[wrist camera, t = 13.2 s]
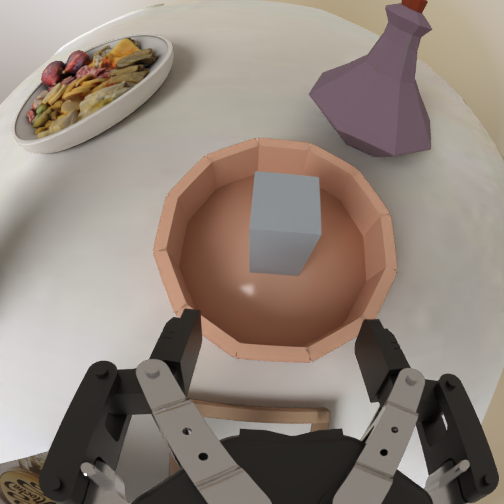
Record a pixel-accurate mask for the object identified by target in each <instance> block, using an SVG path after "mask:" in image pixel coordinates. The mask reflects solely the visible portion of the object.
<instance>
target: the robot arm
mask: <svg viewBox="0 0 504 504" xmlns="http://www.w3.org/2000/svg"><path fill="white" fill-rule="evenodd" d="M201 343H202V325H201V311H200V310H196V309H187V308H185V309H184V310H183V313H182V315H181V317H180V318H176V317H173V318H172V319H171V320H169V321H168V322H167V323H166V325H165V327H164V329H163V332H162V333H161V335H160V338H159V339H158V341H157V343H156V346H155V348H154V350H153V352H152V354H151V356H150V358H149V360H146V361H143V362H142V363H140V364H139V365H138V367H137V368H136V369H124V370H117V368H116V366H115V365H114V364H113V363H111V362H109V361H99V362H96V363H94V364H92V365H91V366H90V367H89V369H88V371H87V373H86V374H85V376H84V378H83V380H82V382H81V384H80V386H79V388H78V390H77V392H76V394H75V396H74V398H73V400H72V402H71V404H70V406H69V408H68V410H67V412H66V414H65V416H64V418H63V420H62V423H61V425H60V427H59V429H58V431H57V434H56V436H55V438H54V440H53V443H52V445H51V448H50V450H49V452H48V455H47V457H46V460H45V462H44V465H43V467H42V470H41V473H40V476H39V486H40V489H41V491H42V492H43V493H44V495H45V496H46V497H48V498H49V499H51V500H53V501H54V502H56V503H58V504H131V503H129V502H128V500H127V499H126V496H125V485H124V482H123V480H122V479H121V477H120V476H119V475H118V474H117V473H116V472H115V470H116V467H117V463H118V460H119V456H120V453H121V449H122V446H123V442H124V439H125V436H126V433H127V429H128V426H129V423H130V420H131V417H132V415H135V414H151V415H152V417H153V419H154V421H155V423H156V425H157V427H158V429H159V431H160V433H161V435H162V437H163V439H164V440H165V442H166V444H167V446H168V448H169V450H170V452H171V454H172V456H173V457H174V459H175V461H176V463H177V464H178V466H179V468H180V469H179V470H178V471H177V472H175V473H174V474H172V475H171V476H170V477H168V478H167V479H165V480H164V481H162V482H161V483H159V484H158V485H156V486H155V487H153V488H152V489H150V490H149V491H147V492H146V493H144V494H142V495H141V496H139V497H138V498H137V499H135V500H134V501H133V503H132V504H473V503H475V502H477V501H478V500H480V499H482V498H483V497H485V496H487V495H488V494H490V493H491V492H493V491H494V489H495V488H496V487H497V485H498V481H499V475H498V472H497V468H496V465H495V462H494V459H493V456H492V453H491V450H490V447H489V445H488V442H487V439H486V437H485V434H484V431H483V429H482V426H481V424H480V422H479V419H478V417H477V415H476V412H475V410H474V408H473V406H472V403H471V401H470V399H469V397H468V395H467V393H466V391H465V389H464V387H463V385H462V383H461V381H460V379H459V378H458V377H456V376H455V375H453V374H444V375H442V376H441V377H440V379H439V380H438V381H434V380H426V379H425V378H424V376H423V375H422V373H421V372H419V371H418V370H416V369H413V368H410V366H409V364H408V362H407V360H406V358H405V356H404V354H403V352H402V350H401V349H400V346H399V344H398V343H397V340H396V338H395V336H394V335H393V334H392V333H391V332H390V331H389V330H388V329H384V328H383V326H382V324H381V322H380V320H379V319H365V320H364V321H363V322H362V325H361V328H360V331H359V334H358V337H357V339H356V342H355V355H356V358H357V361H358V364H359V367H360V370H361V373H362V376H363V379H364V383H365V386H366V389H367V392H368V396H369V399H370V402H371V403H372V402H379V403H380V406H379V407H378V409H377V411H376V413H375V415H374V417H373V419H372V420H371V422H370V424H369V426H368V428H367V429H366V431H365V433H364V435H363V436H362V438H361V439H360V440H358V439H356V438H353V437H350V436H345V435H343V431H342V429H330V430H317V431H313V432H309V433H305V434H301V435H297V436H288V435H284V434H279V433H275V432H271V431H267V430H250V429H240V435H237V436H231V437H227V438H224V439H222V440H218V439H217V437H216V436H215V434H214V433H213V432H212V430H211V429H210V427H209V426H208V424H207V423H206V421H205V420H204V419H203V417H202V416H201V414H200V413H199V411H198V409H197V408H196V406H195V405H194V403H193V402H192V401H191V400H190V399H187V398H186V397H187V394H188V390H189V386H190V383H191V379H192V376H193V372H194V369H195V365H196V362H197V358H198V355H199V351H200V348H201ZM443 414H444V416H445V419H446V422H447V425H448V427H447V430H446V427H445V424H444V422H443V419H442V415H443ZM415 424H416V427H417V431H418V434H419V438H420V441H421V445H422V449H423V453H424V457H425V461H426V465H427V469H428V474H429V477H428V478H427V480H426V484H425V488H424V489H423V488H422V487H420V486H419V485H417V484H416V483H415V482H413V481H412V480H411V479H409V478H408V477H407V476H405V475H404V474H403V473H401V472H400V471H399V470H397V467H398V465H399V463H400V461H401V459H402V457H403V454H404V452H405V450H406V447H407V445H408V442H409V440H410V437H411V435H412V432H413V430H414V427H415Z"/></svg>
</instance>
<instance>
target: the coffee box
mask: <svg viewBox="0 0 504 504" xmlns="http://www.w3.org/2000/svg"><path fill="white" fill-rule="evenodd" d="M47 455H48V452H44V453H40V454H37V455H33V456H30V457H26V458H22V459H18V460H14V461H10V462H6V463H2V464H0V504H58V503H56V502H54V501H53V500H51V499H49V498H48V497H46V496H45V495H44V493H43V492H42V491H41V489H40V486H39V476H40V473H41V470H42V467H43V465H44V462H45V460H46V457H47Z"/></svg>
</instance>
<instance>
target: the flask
mask: <svg viewBox="0 0 504 504" xmlns="http://www.w3.org/2000/svg"><path fill="white" fill-rule="evenodd" d="M426 4H427V1H426V0H402V3H399V4H393V5H387V6H386V8H385V9H386V12H387V17H388V21H389V22H388V24H387V26H386V29H385V31H384V33H383V34H382V36H381V37H380V38H379V40H378V41H377V42H376V44H375V45H374V47H373V48H372V49H371V51H370V52H369V53H368V55H366V56H363V57H361V58H359V59H357V60H354V61H352V62H350V63H348V64H345V65H342V66H340V67H337V68H334V69H331V70H329V71H326V72H324V73H322V75H321V76H320V78H319V79H318V81H317V82H316V84H315V85H314V87H313V88H312V90H311V92H310V93H309V95H310V97H311V98H312V99H313V101H314V102H315V103H316V104H317V106H318V107H319V108H320V110H321V111H322V112H323V114H324V115H325V116H326V118H327V119H328V120H329V122H330V123H331V125H332V126H333V127H334V129H335V130H336V131H337V132H338V134H339V135H340V137H341V138H342V139H343V141H344V142H345V143H346V144H347V145H349V146H352V147H354V148H356V149H359V150H361V151H363V152H365V153H367V154H370V155H372V156H396V155H402V154H407V153H413V152H418V151H424V150H430V149H431V133H430V120H429V117H428V114H427V111H426V109H425V106H424V104H423V101H422V99H421V96H420V93H419V90H418V86H417V83H416V80H415V72H416V61H417V50H418V47H419V43H420V39H421V37H422V36H423V35H425V34H426V33H428V32H429V31H431V30H432V28H431V26H430V25H429V23H428V21H427V20H426V18H425V17H424V16H423V14H422V12H423V10H424V8H425V6H426Z"/></svg>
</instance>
